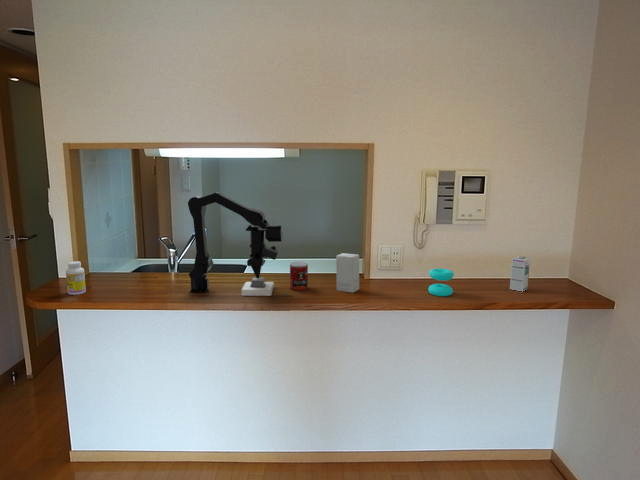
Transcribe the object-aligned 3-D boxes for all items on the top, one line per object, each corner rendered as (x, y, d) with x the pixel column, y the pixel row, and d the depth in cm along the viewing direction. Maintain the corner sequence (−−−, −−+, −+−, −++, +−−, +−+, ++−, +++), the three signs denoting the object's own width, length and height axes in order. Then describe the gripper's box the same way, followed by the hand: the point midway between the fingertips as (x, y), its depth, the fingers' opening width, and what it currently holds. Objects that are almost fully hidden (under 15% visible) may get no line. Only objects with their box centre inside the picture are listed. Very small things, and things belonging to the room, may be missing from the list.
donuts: (433, 266, 192) (456, 269, 187) (432, 288, 194) (455, 292, 188) (426, 271, 184) (450, 274, 178) (424, 294, 185) (448, 298, 180)
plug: (251, 291, 185) (251, 279, 184) (253, 288, 189) (252, 277, 188) (263, 291, 185) (263, 279, 184) (264, 288, 189) (264, 277, 188)
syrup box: (522, 292, 189) (526, 259, 187) (509, 289, 193) (511, 257, 191) (527, 290, 193) (530, 257, 191) (513, 287, 197) (516, 255, 195)
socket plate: (241, 295, 181) (241, 289, 180) (246, 287, 193) (246, 281, 192) (271, 295, 181) (270, 289, 181) (273, 287, 193) (273, 282, 192)
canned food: (292, 291, 187) (292, 266, 185) (288, 286, 195) (288, 262, 193) (309, 290, 189) (309, 265, 187) (305, 285, 197) (305, 261, 195)
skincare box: (359, 289, 191) (360, 254, 188) (352, 293, 185) (353, 257, 183) (342, 286, 195) (343, 252, 192) (335, 290, 190) (335, 254, 187)
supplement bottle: (65, 293, 182) (62, 262, 179) (82, 289, 187) (79, 259, 184) (71, 296, 177) (68, 265, 175) (88, 292, 182) (86, 262, 180)
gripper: (274, 245, 174) (275, 284, 177) (278, 237, 192) (278, 272, 195) (246, 245, 174) (247, 283, 177) (253, 237, 192) (253, 272, 195)
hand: (257, 277), depth 186 cm, fingers closed
